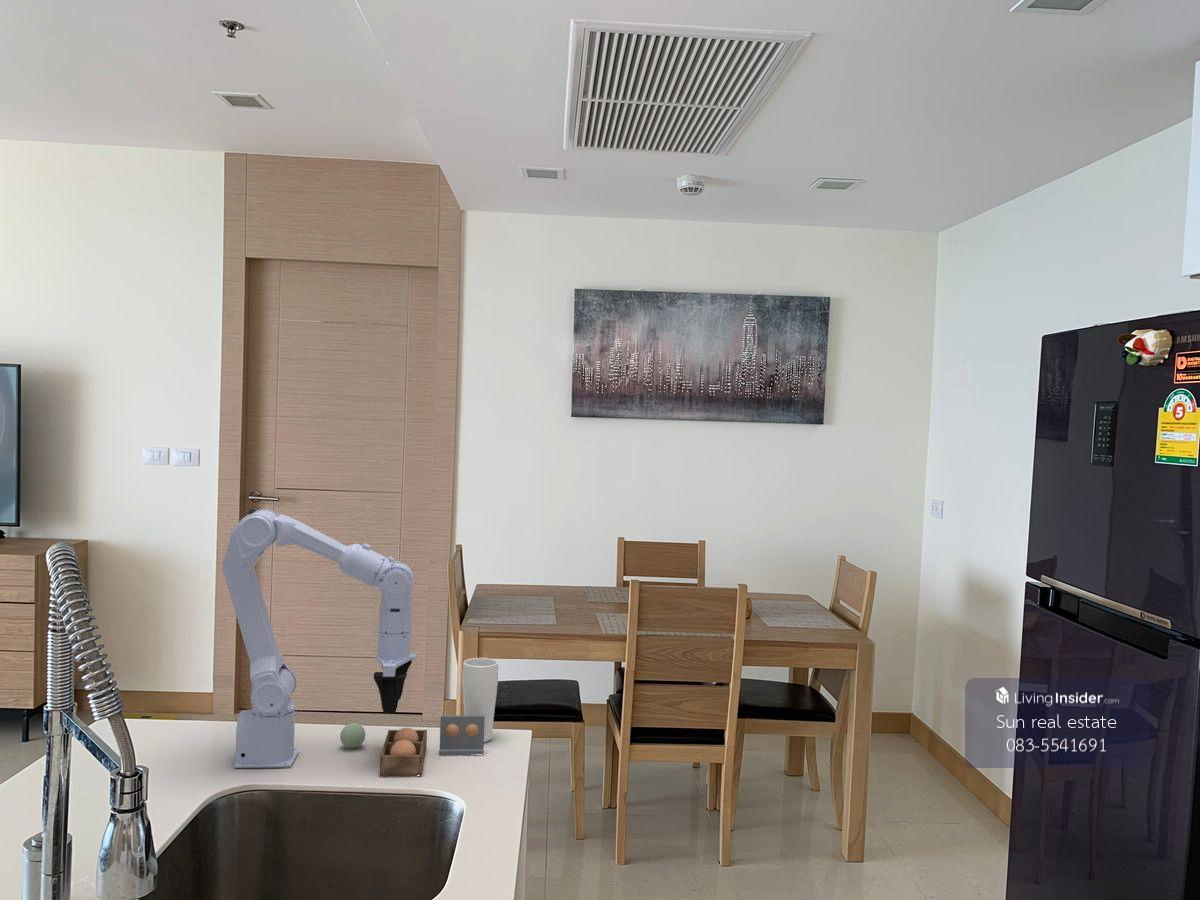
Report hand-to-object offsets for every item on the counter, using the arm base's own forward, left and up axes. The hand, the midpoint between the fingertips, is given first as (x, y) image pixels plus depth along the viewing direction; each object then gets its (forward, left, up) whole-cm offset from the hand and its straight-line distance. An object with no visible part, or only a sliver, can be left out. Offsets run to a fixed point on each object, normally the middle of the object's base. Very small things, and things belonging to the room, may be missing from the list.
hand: (392, 705), depth 165 cm
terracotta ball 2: (+3, -6, -7) cm, 9 cm away
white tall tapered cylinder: (+16, +9, -10) cm, 20 cm away
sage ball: (-7, +5, -7) cm, 11 cm away
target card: (+13, +2, -9) cm, 16 cm away
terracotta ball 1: (+3, +1, -7) cm, 7 cm away
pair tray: (+3, -2, -9) cm, 10 cm away
